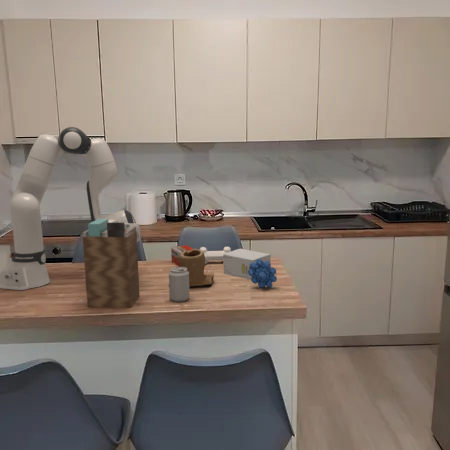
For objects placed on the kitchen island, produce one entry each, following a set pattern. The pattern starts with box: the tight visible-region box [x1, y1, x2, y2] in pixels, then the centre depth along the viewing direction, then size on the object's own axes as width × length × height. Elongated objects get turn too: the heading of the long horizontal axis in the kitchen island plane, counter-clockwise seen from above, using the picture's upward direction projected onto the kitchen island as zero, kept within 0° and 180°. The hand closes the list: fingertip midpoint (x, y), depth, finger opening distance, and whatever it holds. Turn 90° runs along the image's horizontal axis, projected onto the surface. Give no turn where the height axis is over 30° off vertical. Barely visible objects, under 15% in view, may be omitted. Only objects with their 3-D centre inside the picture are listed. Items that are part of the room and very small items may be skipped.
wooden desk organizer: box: [82, 223, 140, 309], centre depth 173 cm, size 16×12×31 cm
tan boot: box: [179, 248, 215, 287], centre depth 192 cm, size 15×12×15 cm
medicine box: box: [170, 244, 194, 267], centre depth 225 cm, size 15×8×8 cm, turn 26°
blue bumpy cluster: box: [248, 259, 278, 289], centre depth 187 cm, size 12×7×12 cm, turn 85°
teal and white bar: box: [87, 219, 117, 237], centre depth 175 cm, size 4×20×4 cm, turn 175°
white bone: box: [199, 246, 232, 265], centre depth 227 cm, size 15×9×8 cm, turn 92°
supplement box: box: [223, 248, 272, 281], centre depth 209 cm, size 17×13×9 cm
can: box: [168, 266, 191, 303], centre depth 176 cm, size 8×8×12 cm
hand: (108, 223), depth 181 cm, fingers open, 6 cm apart
